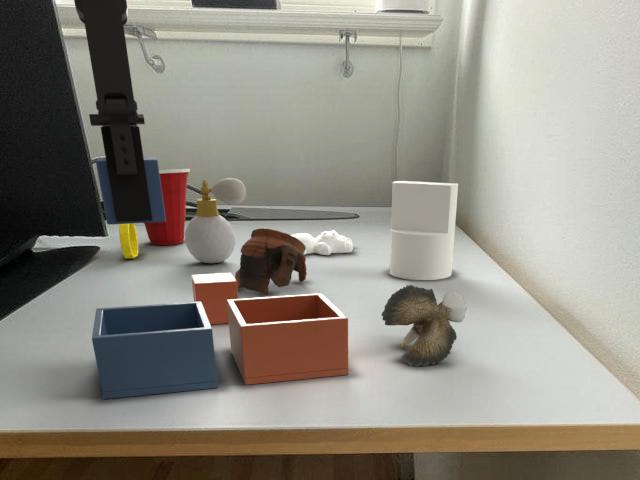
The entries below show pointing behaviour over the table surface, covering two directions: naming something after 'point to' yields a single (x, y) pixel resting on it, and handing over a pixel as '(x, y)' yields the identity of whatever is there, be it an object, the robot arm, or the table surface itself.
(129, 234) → the watch
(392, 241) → the cylinder with rectangular tab
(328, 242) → the astronaut figurine
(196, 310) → the slate bin
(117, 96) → the robot arm
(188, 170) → the plastic cup
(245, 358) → the terracotta bin
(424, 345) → the eagle figurine
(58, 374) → the table surface
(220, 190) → the perfume bottle
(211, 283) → the terracotta block
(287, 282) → the brown wooden carving
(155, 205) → the slate block
